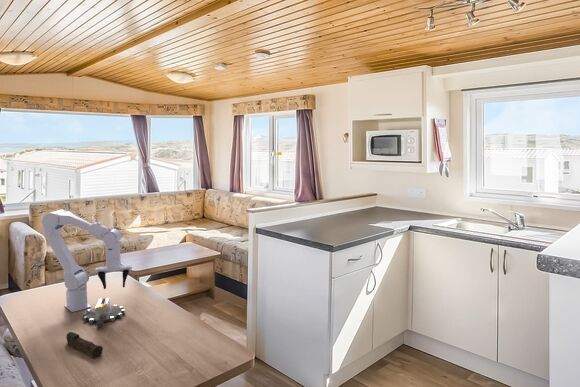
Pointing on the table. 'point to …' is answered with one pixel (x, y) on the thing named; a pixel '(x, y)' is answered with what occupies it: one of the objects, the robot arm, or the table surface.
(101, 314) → the knob box
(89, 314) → the sprocket
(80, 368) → the table surface
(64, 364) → the table surface
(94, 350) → the dark brown bar
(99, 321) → the index pointer
